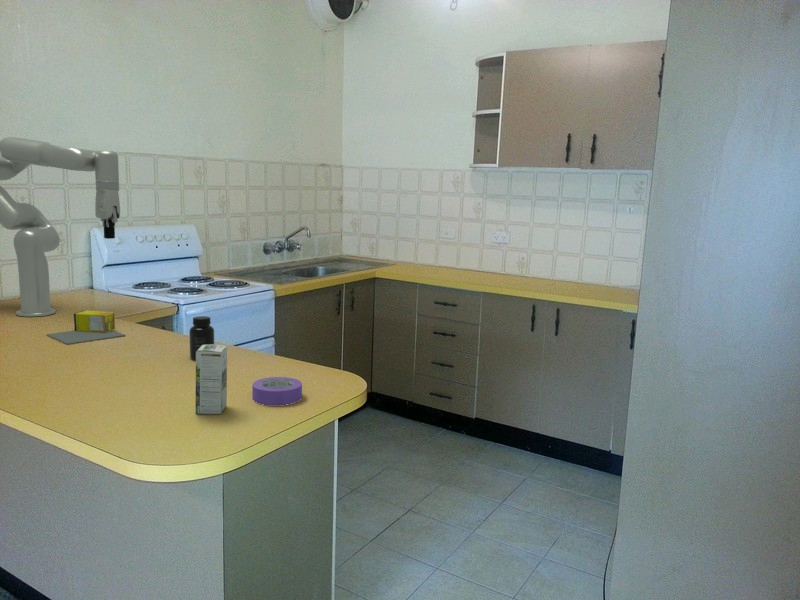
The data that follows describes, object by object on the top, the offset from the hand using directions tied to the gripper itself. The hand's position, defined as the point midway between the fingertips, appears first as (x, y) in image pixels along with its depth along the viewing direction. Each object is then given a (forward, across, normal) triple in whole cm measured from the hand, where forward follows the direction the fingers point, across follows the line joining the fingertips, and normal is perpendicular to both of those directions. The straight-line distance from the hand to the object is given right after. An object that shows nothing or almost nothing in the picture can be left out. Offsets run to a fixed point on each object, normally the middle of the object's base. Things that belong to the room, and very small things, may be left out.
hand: (109, 238), depth 224 cm
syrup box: (+29, +108, -28) cm, 115 cm away
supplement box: (+26, +13, -17) cm, 34 cm away
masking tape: (+30, +111, -12) cm, 115 cm away
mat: (+29, +22, -19) cm, 41 cm away
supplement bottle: (+29, +69, -6) cm, 75 cm away
